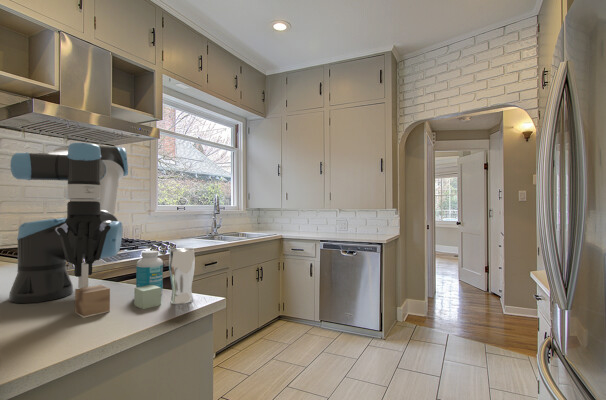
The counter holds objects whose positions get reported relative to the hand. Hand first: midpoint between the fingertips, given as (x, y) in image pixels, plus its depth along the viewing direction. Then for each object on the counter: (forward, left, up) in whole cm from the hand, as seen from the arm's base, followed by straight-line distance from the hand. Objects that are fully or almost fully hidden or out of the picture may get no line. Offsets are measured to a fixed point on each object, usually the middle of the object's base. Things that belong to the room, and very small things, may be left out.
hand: (83, 287), depth 91 cm
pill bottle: (+2, +17, -6) cm, 18 cm away
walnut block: (+6, 0, -5) cm, 8 cm away
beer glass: (+15, +20, -6) cm, 26 cm away
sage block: (+11, +12, -6) cm, 17 cm away
